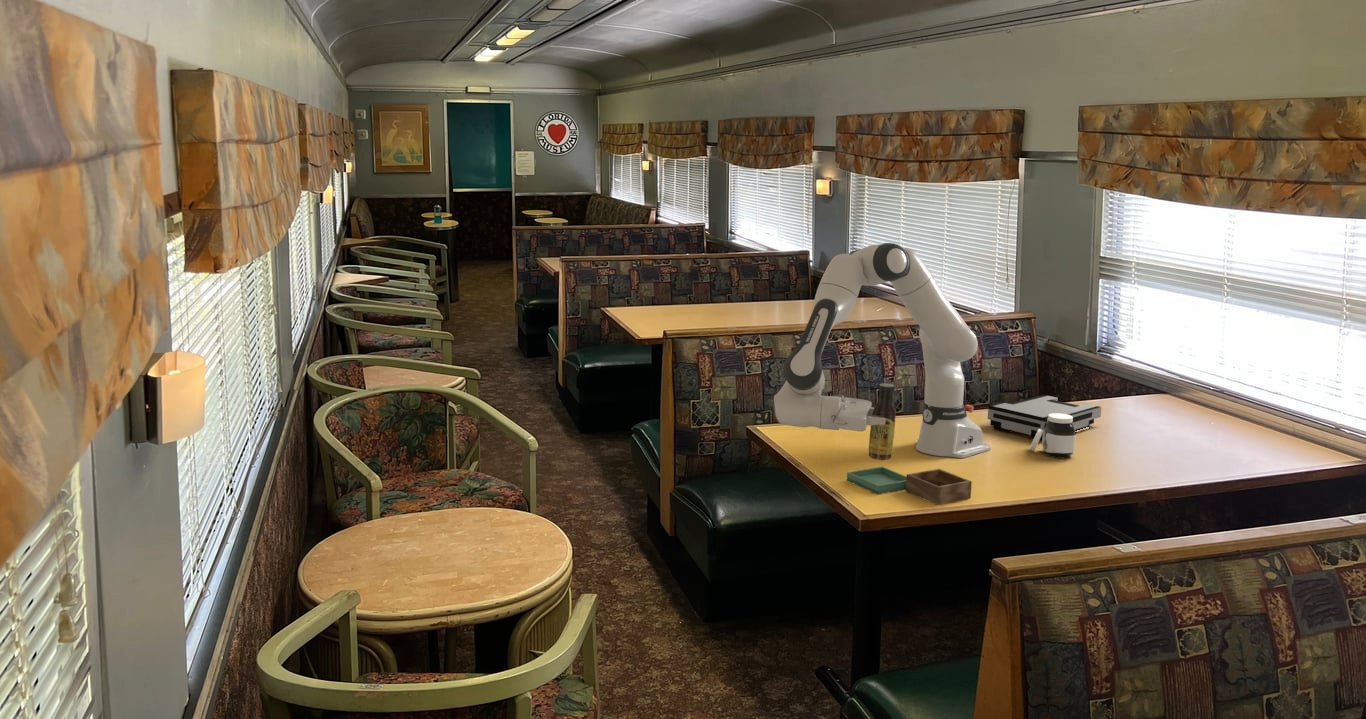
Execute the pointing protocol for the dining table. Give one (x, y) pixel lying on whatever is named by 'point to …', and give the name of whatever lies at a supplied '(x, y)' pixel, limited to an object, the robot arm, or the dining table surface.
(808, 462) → the dining table surface
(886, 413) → the sauce bottle
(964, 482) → the caddy
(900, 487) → the tray
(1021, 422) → the game console
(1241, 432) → the dining table surface
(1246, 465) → the dining table surface
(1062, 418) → the spread jar
